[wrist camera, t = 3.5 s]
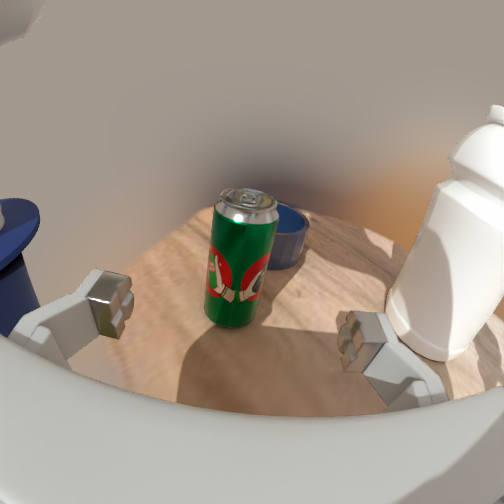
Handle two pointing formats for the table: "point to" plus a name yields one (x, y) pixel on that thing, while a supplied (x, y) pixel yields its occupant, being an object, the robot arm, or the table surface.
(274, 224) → the soda can
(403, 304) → the bottle
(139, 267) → the table surface
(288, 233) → the bowl
